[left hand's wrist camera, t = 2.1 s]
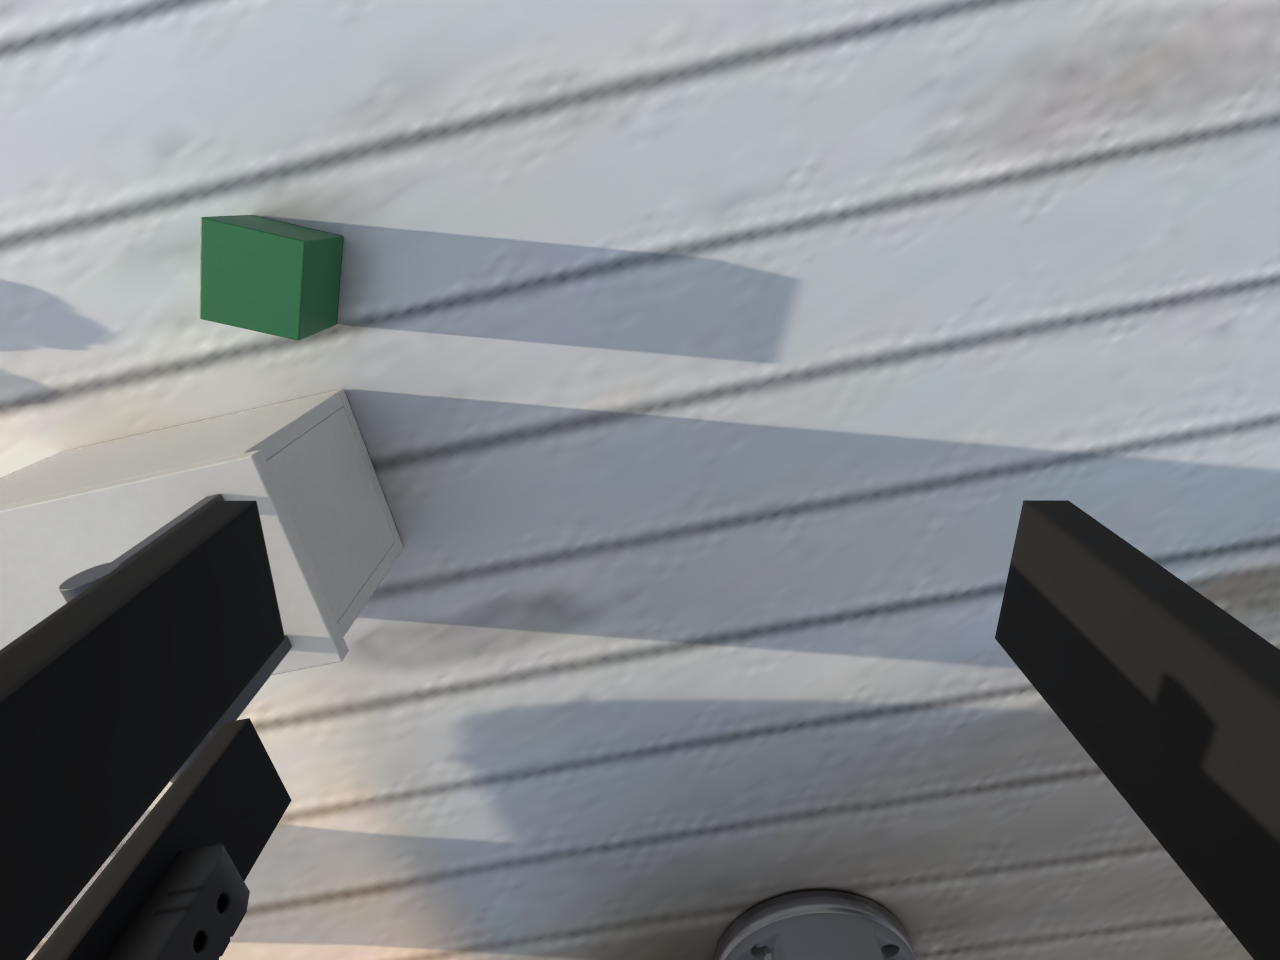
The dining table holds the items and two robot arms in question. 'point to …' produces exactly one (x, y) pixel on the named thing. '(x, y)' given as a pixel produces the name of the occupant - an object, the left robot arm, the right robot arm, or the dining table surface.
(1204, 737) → the left robot arm
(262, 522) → the lid
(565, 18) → the dining table surface
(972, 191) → the dining table surface
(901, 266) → the dining table surface
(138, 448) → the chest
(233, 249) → the block
